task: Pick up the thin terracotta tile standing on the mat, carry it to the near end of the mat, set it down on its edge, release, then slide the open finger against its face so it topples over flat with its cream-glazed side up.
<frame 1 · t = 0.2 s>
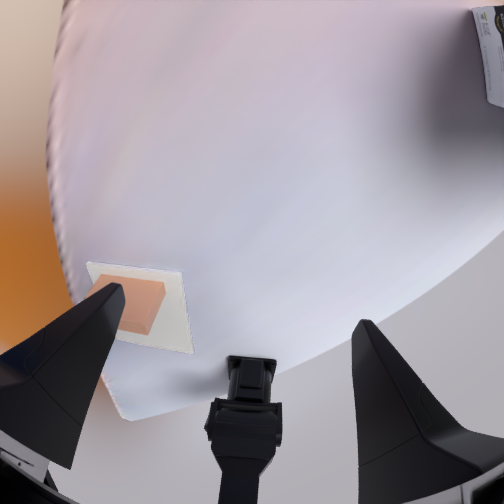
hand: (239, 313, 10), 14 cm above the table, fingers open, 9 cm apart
mat: (142, 311, 32), on the table
tile: (132, 283, 29), resting on mat
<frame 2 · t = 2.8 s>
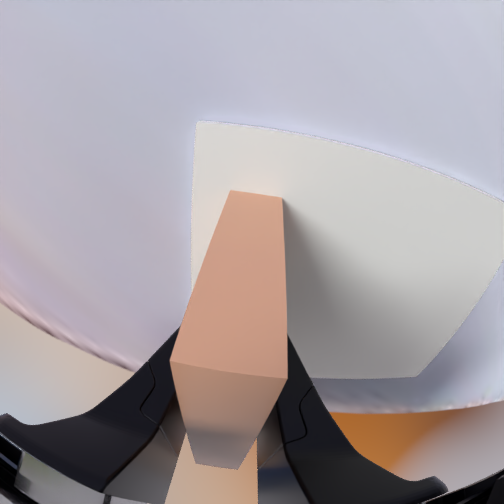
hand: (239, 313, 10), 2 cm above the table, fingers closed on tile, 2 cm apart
mat: (359, 297, 11), on the table
tile: (242, 290, 11), resting on mat, touching gripper
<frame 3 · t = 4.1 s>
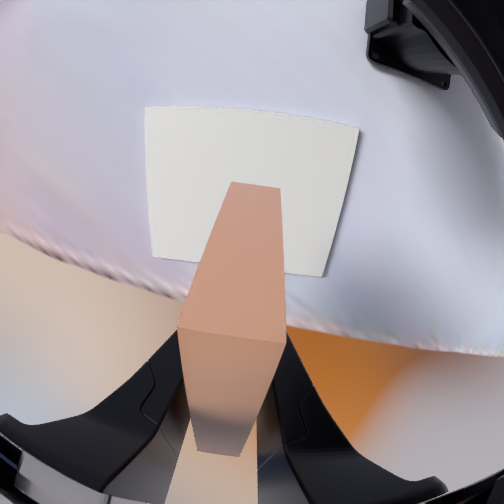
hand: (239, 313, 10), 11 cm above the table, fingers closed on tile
mat: (242, 194, 19), on the table
tile: (242, 279, 11), point 10 cm above the table, touching gripper
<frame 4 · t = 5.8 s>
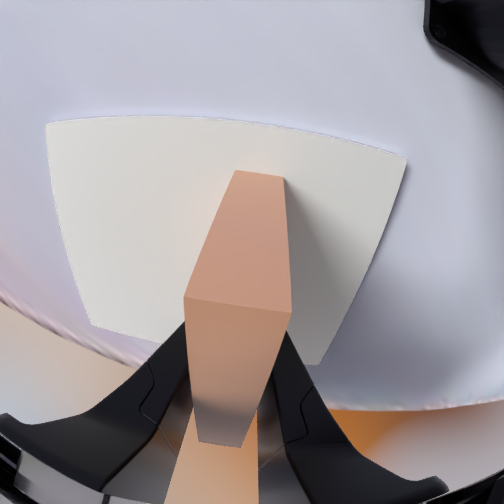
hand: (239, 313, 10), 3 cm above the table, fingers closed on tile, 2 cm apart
mat: (198, 261, 12), on the table
tile: (245, 268, 11), resting on mat, touching gripper
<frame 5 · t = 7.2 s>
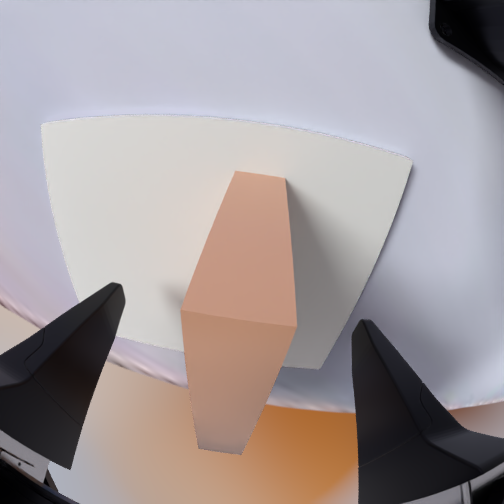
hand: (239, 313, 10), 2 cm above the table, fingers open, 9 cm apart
mat: (198, 264, 11), on the table
tile: (245, 272, 11), resting on mat
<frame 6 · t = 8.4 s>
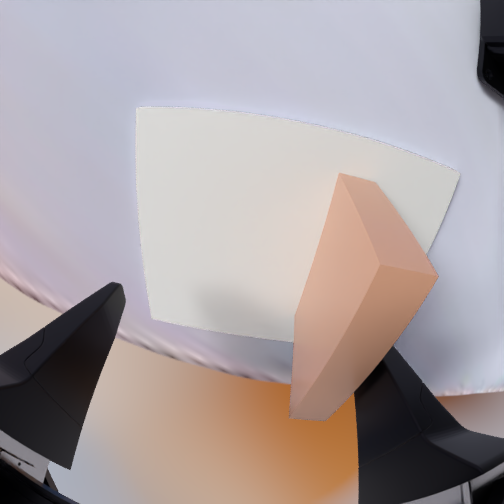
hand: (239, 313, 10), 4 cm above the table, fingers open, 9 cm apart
mat: (286, 252, 13), on the table
tile: (331, 259, 12), point 1 cm above the table, touching gripper, mat
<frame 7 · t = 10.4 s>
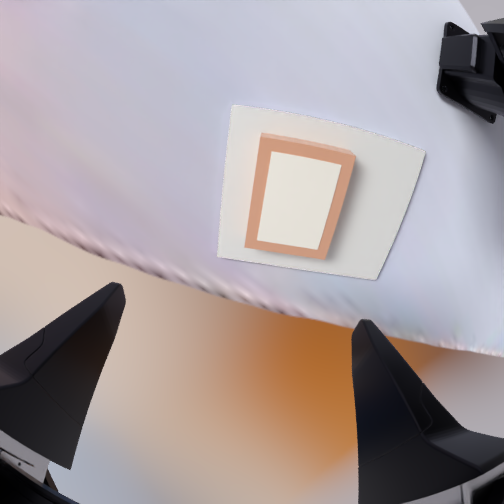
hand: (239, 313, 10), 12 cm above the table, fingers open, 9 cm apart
mat: (318, 201, 20), on the table
tile: (338, 206, 18), point 1 cm above the table, tilted 90°, touching mat
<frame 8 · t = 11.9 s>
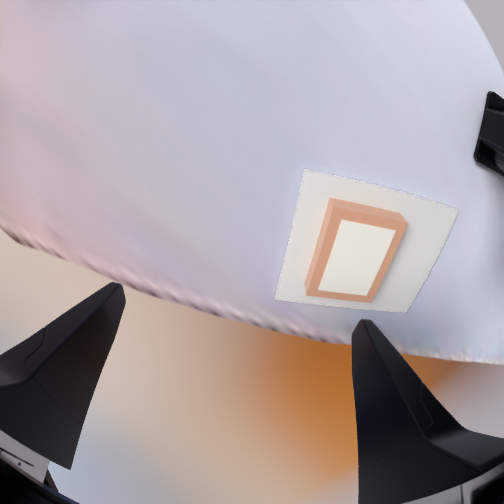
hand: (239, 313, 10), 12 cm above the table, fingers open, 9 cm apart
mat: (368, 253, 22), on the table
tile: (385, 260, 21), point 1 cm above the table, tilted 90°, touching mat
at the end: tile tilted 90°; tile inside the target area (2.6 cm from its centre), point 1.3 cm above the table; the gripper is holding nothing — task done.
